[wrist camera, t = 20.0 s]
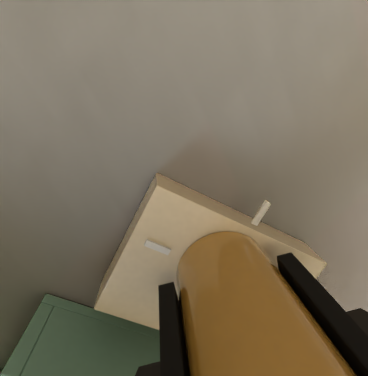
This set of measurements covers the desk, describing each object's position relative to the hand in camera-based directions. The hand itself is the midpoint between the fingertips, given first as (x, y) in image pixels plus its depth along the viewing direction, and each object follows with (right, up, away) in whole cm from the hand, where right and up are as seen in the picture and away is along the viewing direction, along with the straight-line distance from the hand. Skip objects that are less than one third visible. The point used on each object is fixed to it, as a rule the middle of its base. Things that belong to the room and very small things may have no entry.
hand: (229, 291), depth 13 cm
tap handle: (0, +1, +1) cm, 2 cm away
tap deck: (-1, 0, +4) cm, 4 cm away
